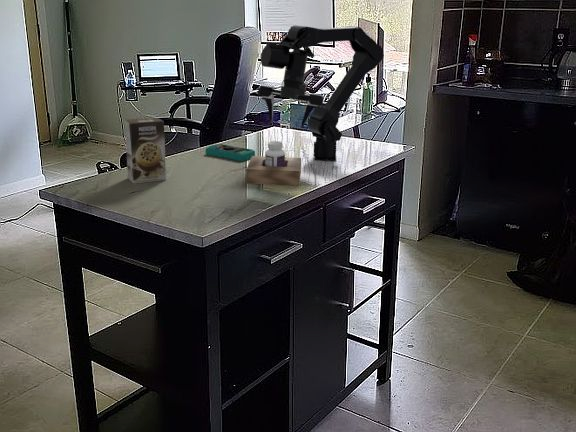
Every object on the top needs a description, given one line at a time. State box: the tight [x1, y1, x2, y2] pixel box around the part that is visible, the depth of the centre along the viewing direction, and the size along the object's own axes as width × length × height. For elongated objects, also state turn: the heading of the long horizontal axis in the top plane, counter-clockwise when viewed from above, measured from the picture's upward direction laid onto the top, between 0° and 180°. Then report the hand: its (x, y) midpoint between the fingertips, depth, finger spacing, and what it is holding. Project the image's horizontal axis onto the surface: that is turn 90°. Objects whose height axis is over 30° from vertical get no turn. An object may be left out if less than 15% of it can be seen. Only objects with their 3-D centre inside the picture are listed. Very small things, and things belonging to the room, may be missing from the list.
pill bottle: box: [264, 140, 286, 167], centre depth 175 cm, size 5×5×10 cm
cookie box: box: [124, 117, 167, 184], centre depth 169 cm, size 9×6×16 cm
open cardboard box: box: [245, 155, 302, 186], centre depth 175 cm, size 14×14×4 cm
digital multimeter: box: [205, 143, 256, 162], centre depth 198 cm, size 7×15×3 cm, turn 57°
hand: (286, 125), depth 187 cm, fingers open, 9 cm apart
